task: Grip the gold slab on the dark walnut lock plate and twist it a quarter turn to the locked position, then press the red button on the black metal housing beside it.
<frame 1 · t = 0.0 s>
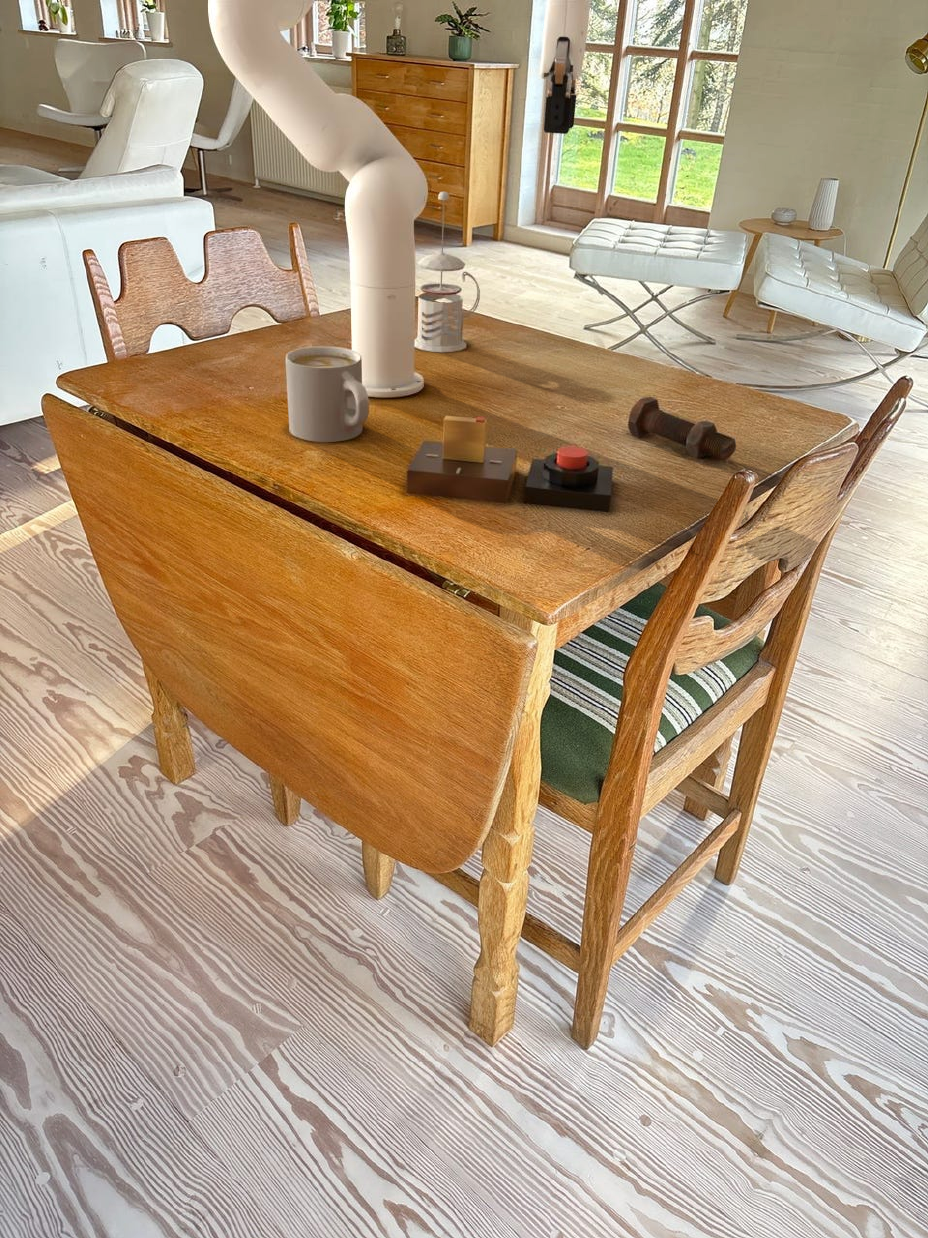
hand: (558, 129, 126), 37 cm above the table, tool pointing down, fingers open, 9 cm apart
french press: (444, 345, 170), on the table
coffee mug: (331, 434, 130), on the table
lock plate: (462, 482, 117), on the table
bolt: (679, 449, 131), on the table
red button: (572, 458, 114), point 4 cm above the table, slide at 0.1 cm
gold slab: (464, 438, 114), point 6 cm above the table, hinge at 0.0°
button box: (568, 493, 116), on the table
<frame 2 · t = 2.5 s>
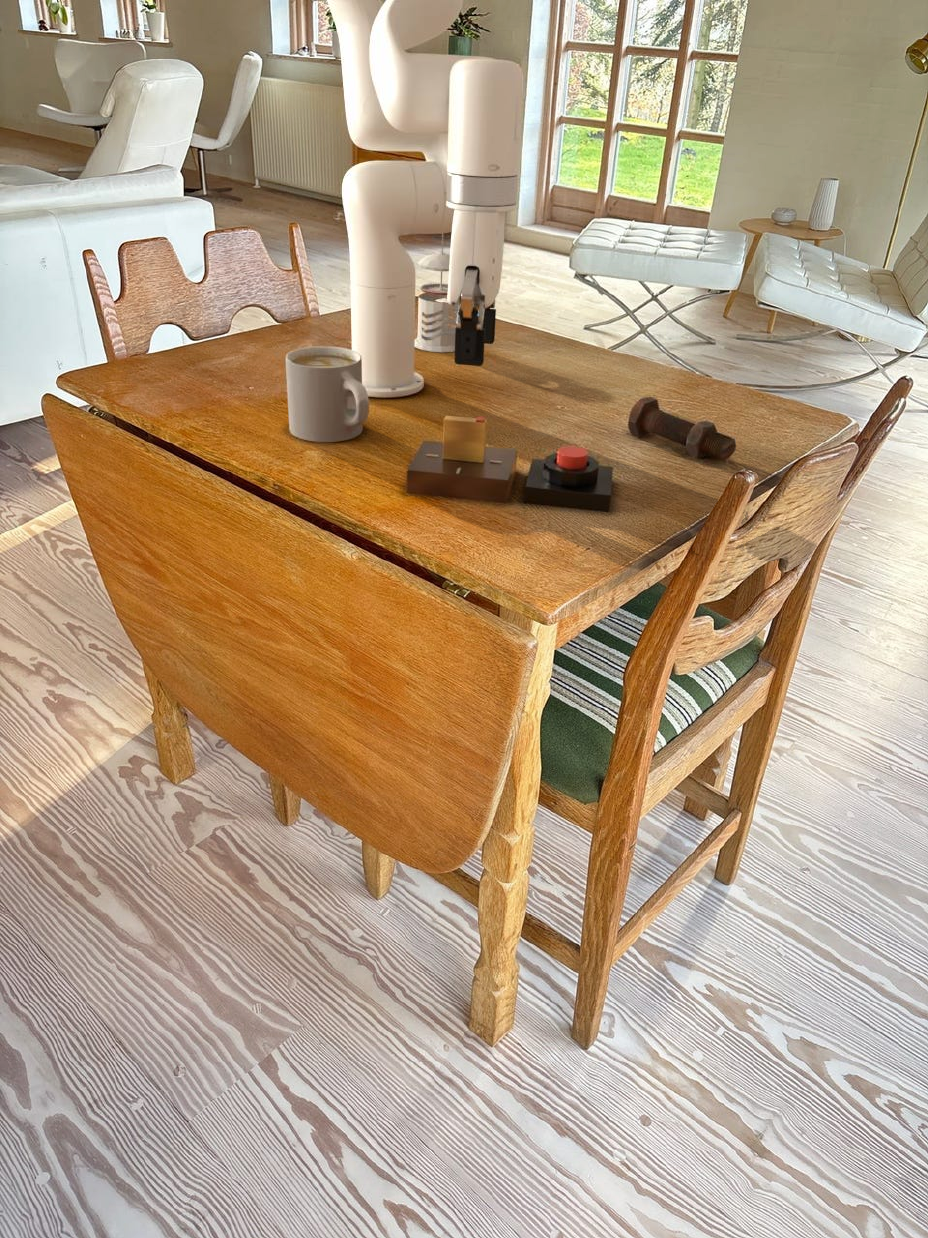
hand: (475, 353, 111), 16 cm above the table, tool pointing down, fingers open, 9 cm apart
nothing on the table moved.
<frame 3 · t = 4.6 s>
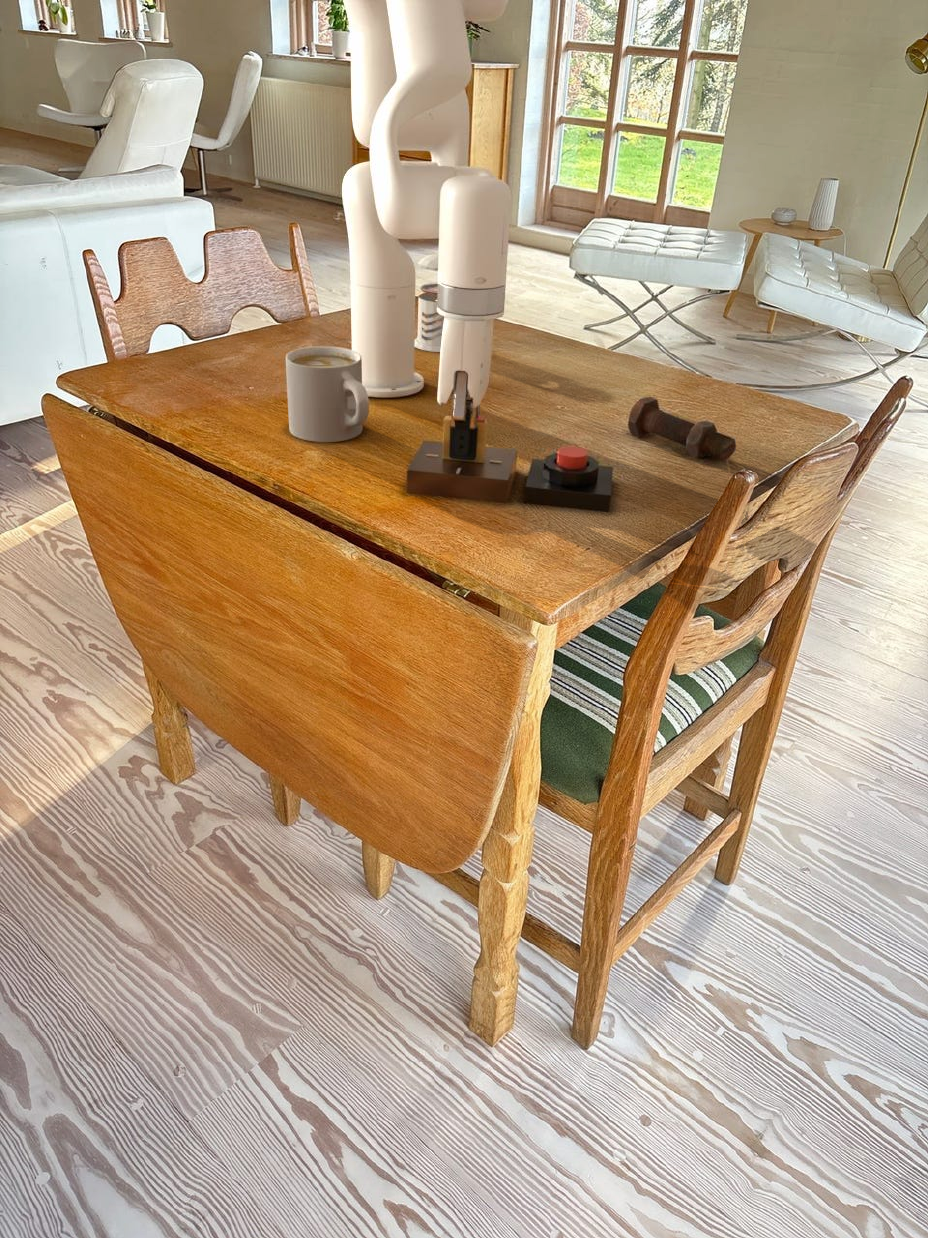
hand: (464, 454, 116), 4 cm above the table, tool pointing down, fingers closed
gold slab: (464, 438, 114), point 6 cm above the table, hinge at 0.0°, touching gripper
everything else where it was.
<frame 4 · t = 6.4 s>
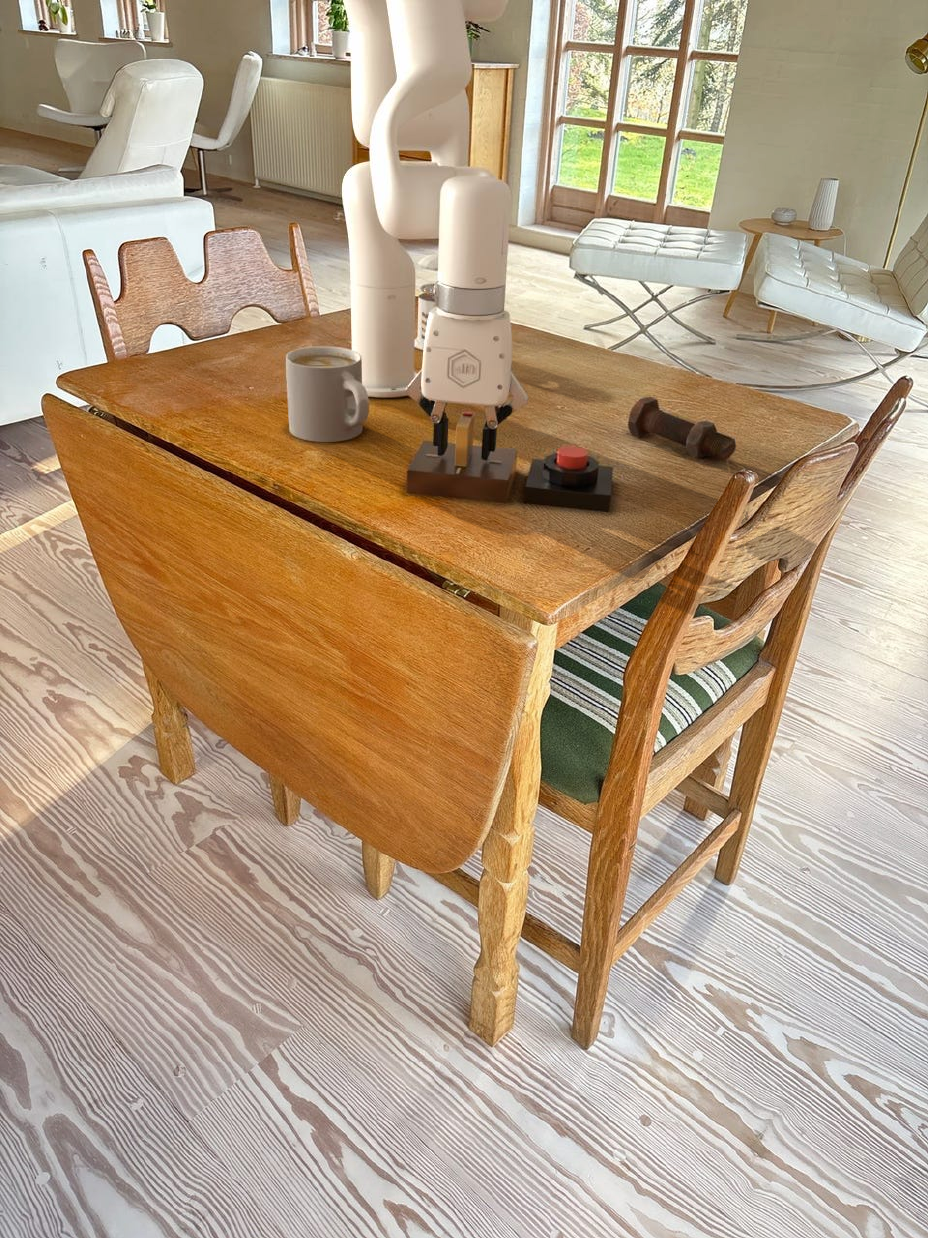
hand: (464, 452, 115), 4 cm above the table, tool pointing down, fingers open, 4 cm apart
gold slab: (464, 438, 114), point 6 cm above the table, hinge at 90.0°
everything else where it was.
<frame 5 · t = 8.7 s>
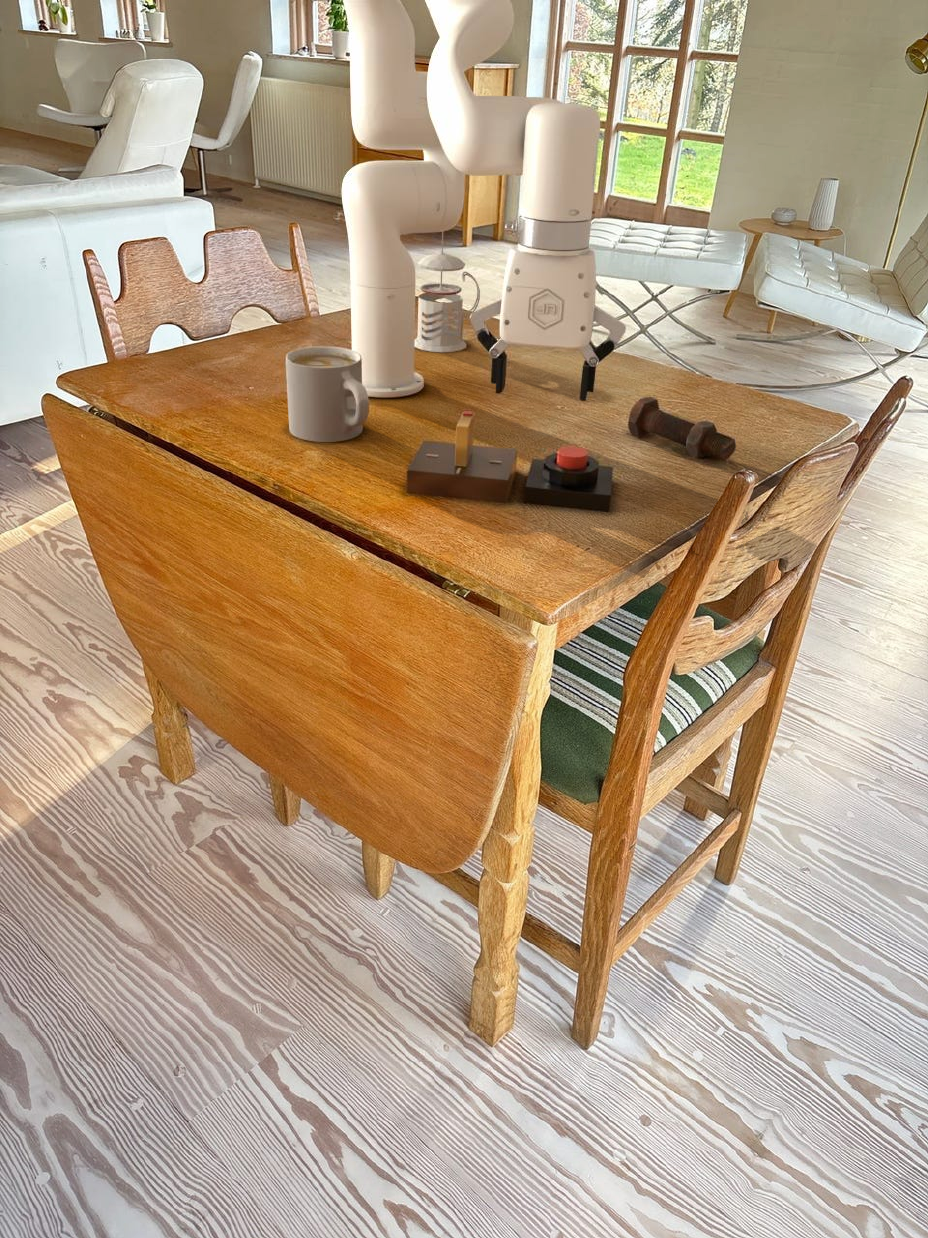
hand: (541, 393, 110), 12 cm above the table, tool pointing down, fingers open, 9 cm apart
nothing on the table moved.
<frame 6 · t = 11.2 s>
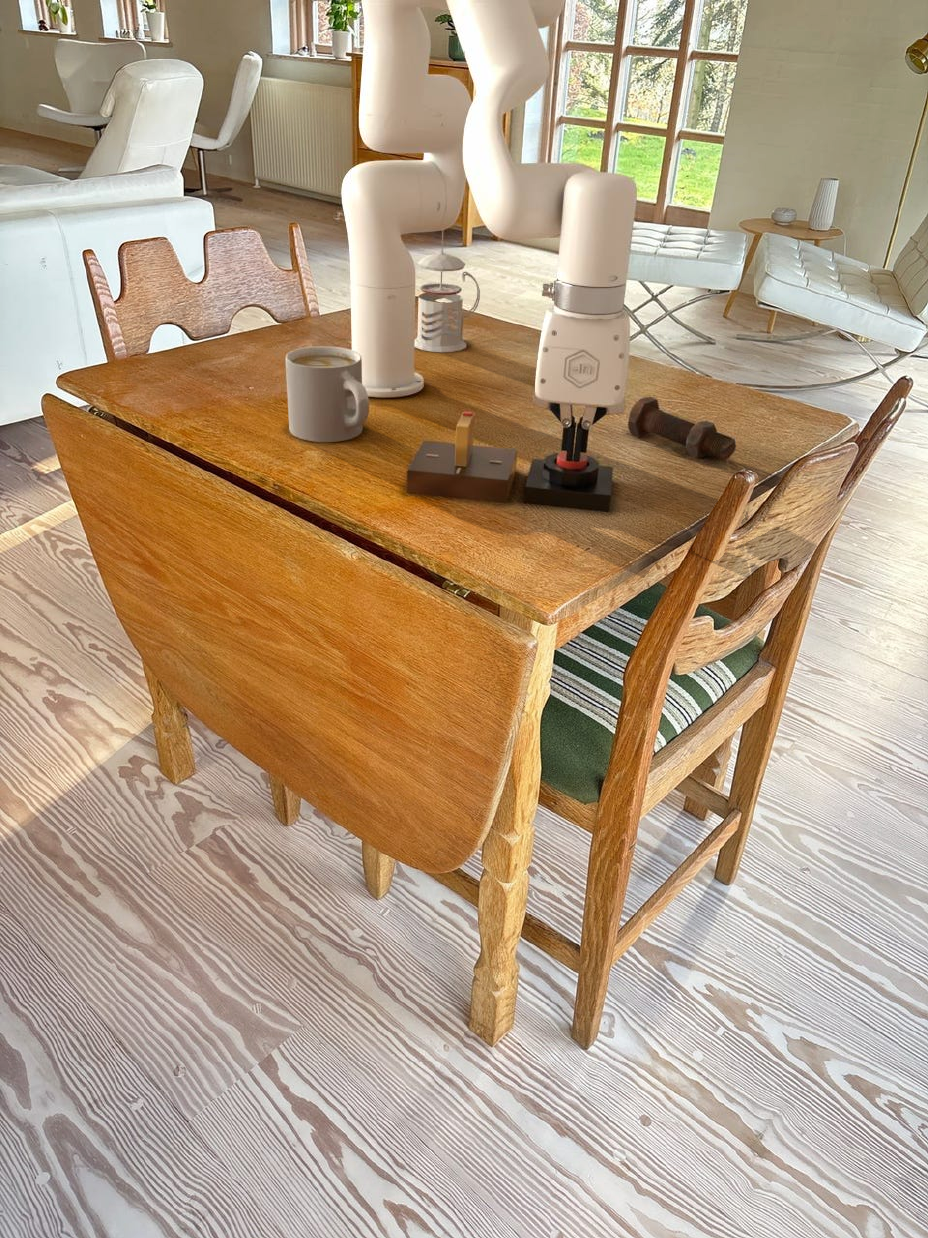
hand: (573, 456, 113), 5 cm above the table, tool pointing down, fingers closed
red button: (571, 463, 114), point 4 cm above the table, slide at -0.5 cm, touching gripper
everything else where it was.
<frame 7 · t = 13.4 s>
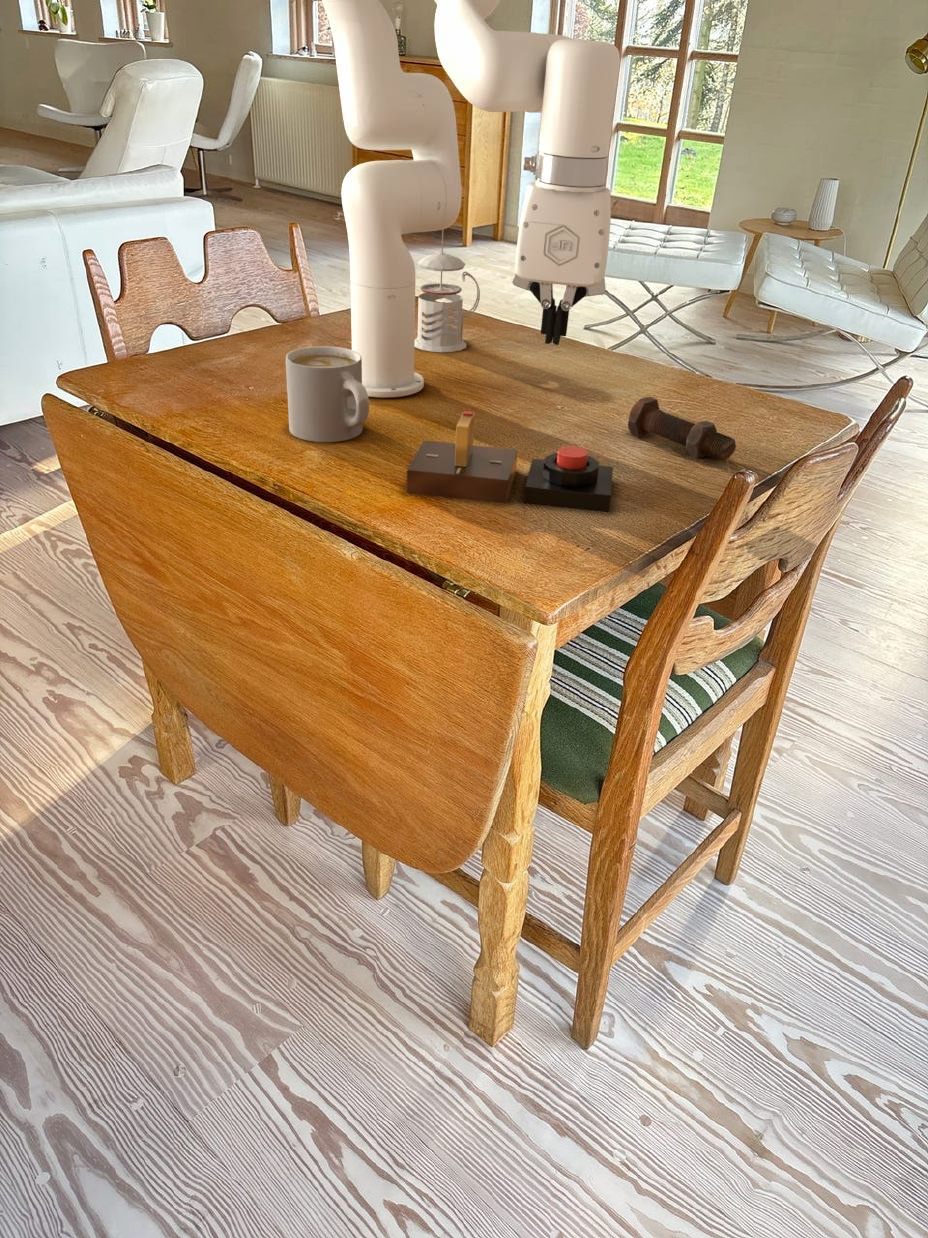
hand: (552, 340, 113), 16 cm above the table, tool pointing down, fingers closed
red button: (572, 458, 114), point 4 cm above the table, slide at 0.1 cm
everything else where it was.
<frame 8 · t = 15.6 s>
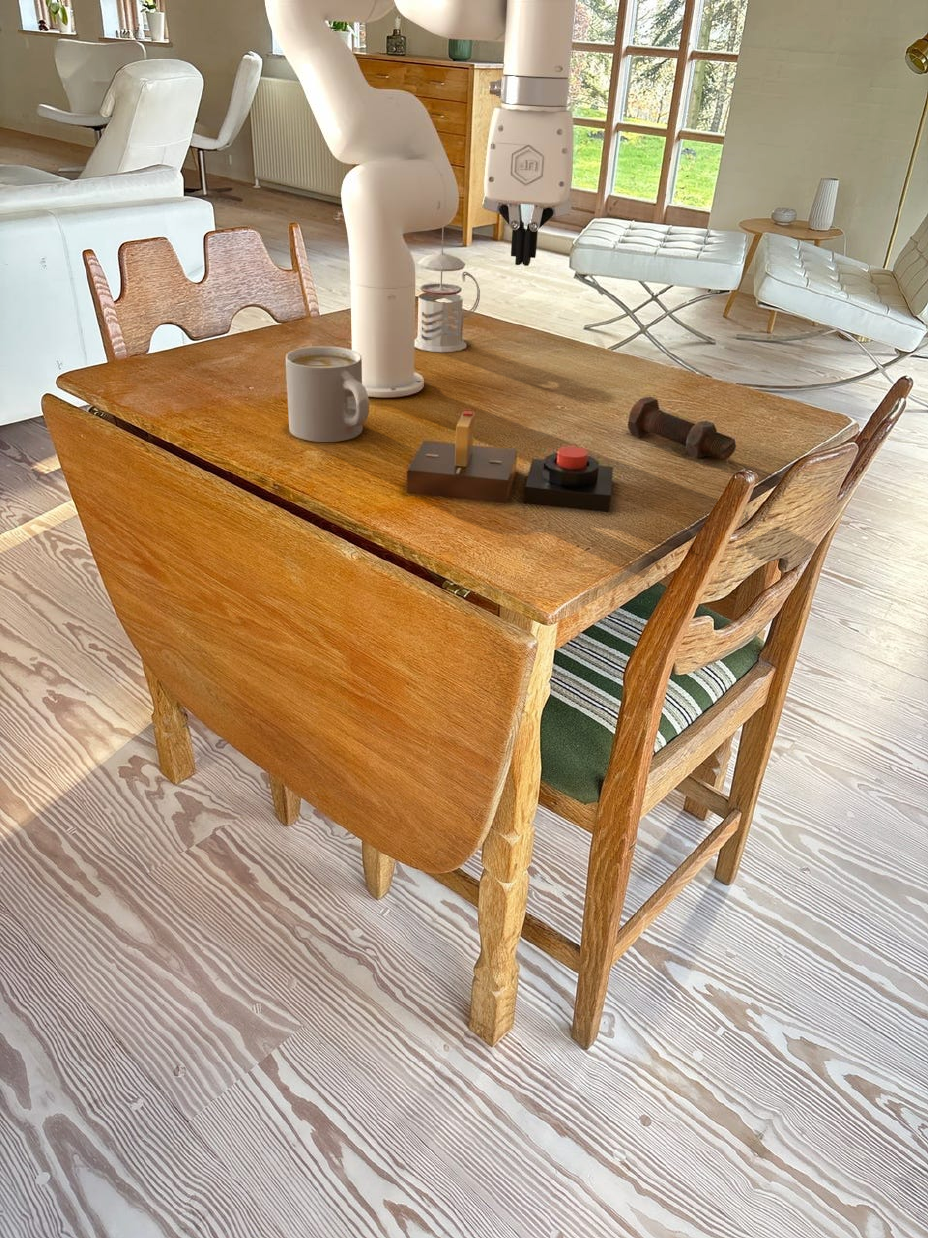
hand: (522, 262, 119), 23 cm above the table, tool pointing down, fingers closed
nothing on the table moved.
at the end: gold slab at +90° (first picture: +0°); red button pushed in 1.0 cm at the most during the clip, back to where it started at the end; red button slide at 0.1 cm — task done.
